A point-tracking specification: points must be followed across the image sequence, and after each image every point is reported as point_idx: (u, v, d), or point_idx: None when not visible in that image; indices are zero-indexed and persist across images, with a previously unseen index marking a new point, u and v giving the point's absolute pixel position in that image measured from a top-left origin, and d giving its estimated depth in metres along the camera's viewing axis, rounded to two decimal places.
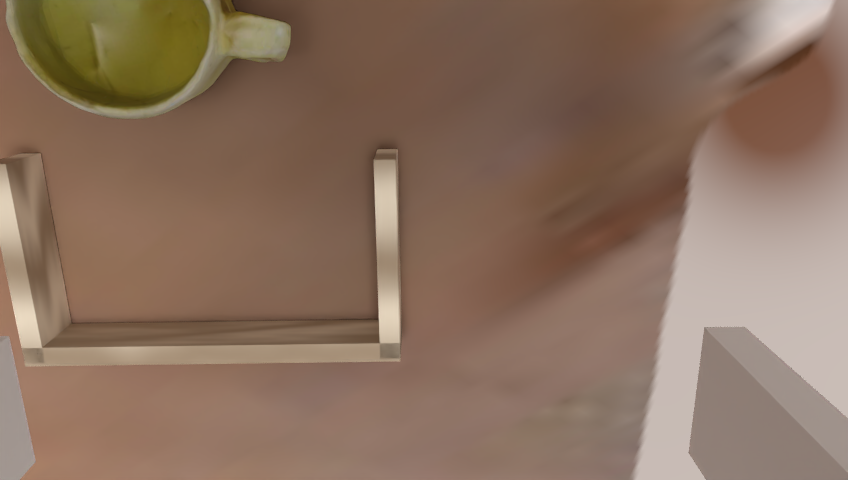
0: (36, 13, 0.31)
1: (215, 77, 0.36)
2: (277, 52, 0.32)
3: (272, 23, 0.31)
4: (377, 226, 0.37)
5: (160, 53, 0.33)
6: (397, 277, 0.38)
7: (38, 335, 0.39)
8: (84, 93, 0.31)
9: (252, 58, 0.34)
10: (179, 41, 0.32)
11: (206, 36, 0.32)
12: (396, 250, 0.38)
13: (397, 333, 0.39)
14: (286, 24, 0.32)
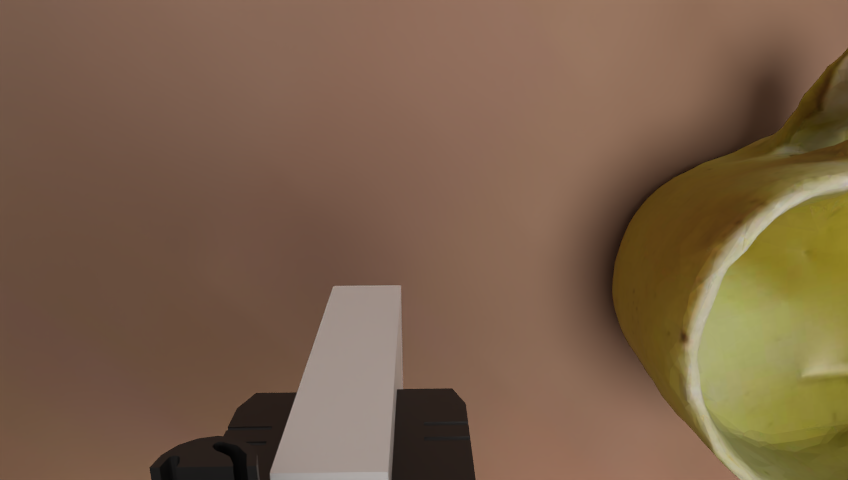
0: (791, 455, 0.19)
1: None
2: None
3: None
4: None
5: None
6: None
7: None
8: None
9: None
10: None
11: None
12: None
13: None
14: None
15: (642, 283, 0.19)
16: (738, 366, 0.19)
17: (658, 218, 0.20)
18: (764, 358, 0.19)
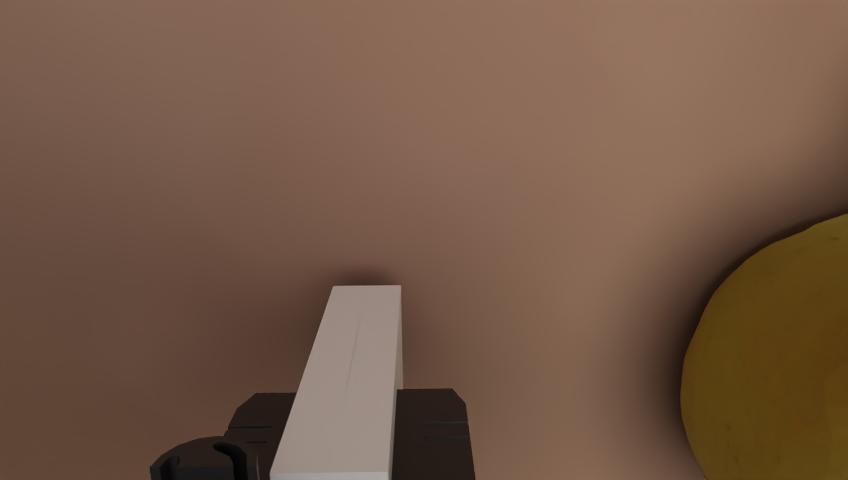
0: None
1: None
2: None
3: None
4: None
5: None
6: None
7: None
8: None
9: None
10: None
11: None
12: None
13: None
14: None
15: (746, 423, 0.13)
16: None
17: (764, 316, 0.14)
18: None
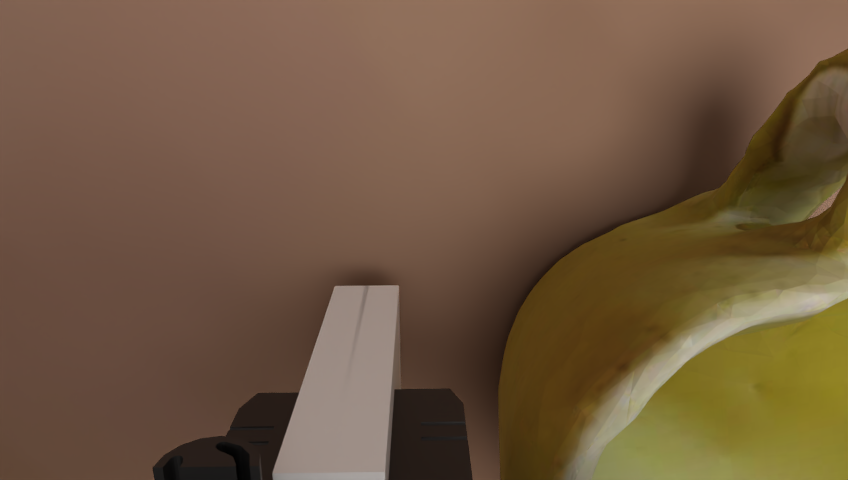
0: None
1: None
2: None
3: None
4: None
5: None
6: None
7: None
8: None
9: None
10: (835, 369, 0.11)
11: (846, 301, 0.11)
12: None
13: None
14: None
15: (505, 426, 0.12)
16: None
17: (541, 317, 0.14)
18: None
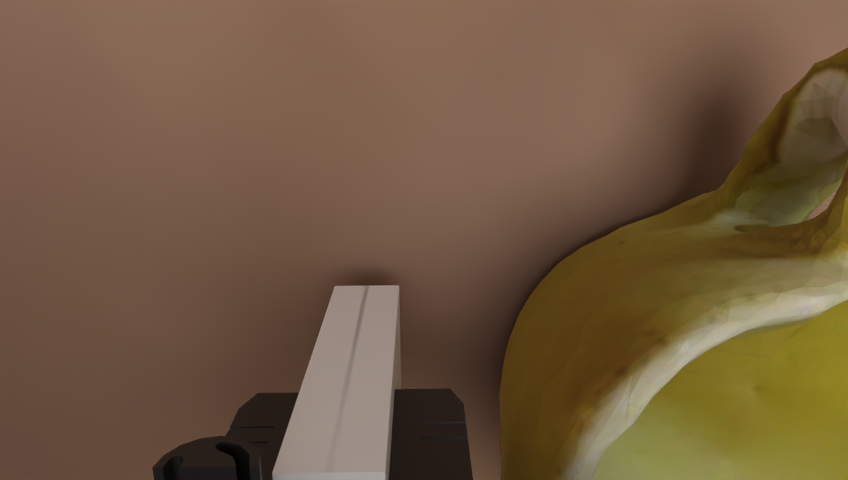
0: None
1: None
2: None
3: None
4: None
5: None
6: None
7: None
8: None
9: None
10: (835, 371, 0.11)
11: (845, 302, 0.11)
12: None
13: None
14: None
15: (505, 430, 0.12)
16: None
17: (540, 321, 0.14)
18: None
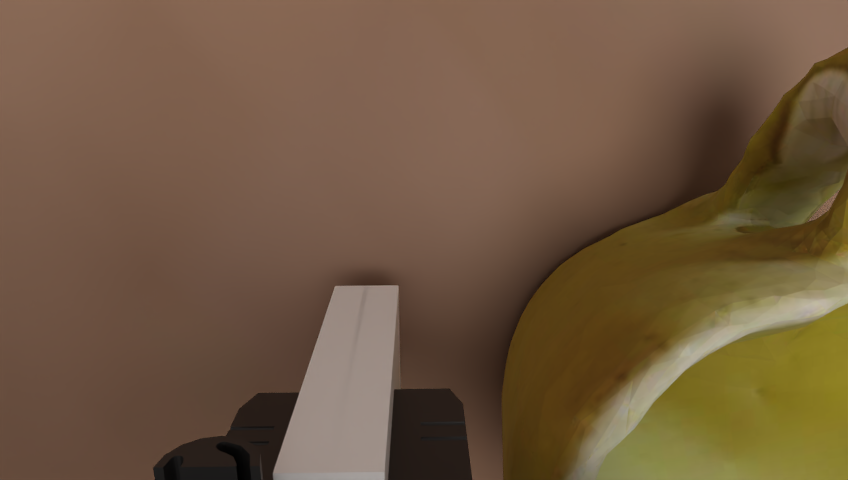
0: None
1: None
2: None
3: None
4: None
5: None
6: None
7: None
8: None
9: None
10: (839, 373, 0.11)
11: None
12: None
13: None
14: None
15: (507, 434, 0.12)
16: None
17: (541, 324, 0.13)
18: None
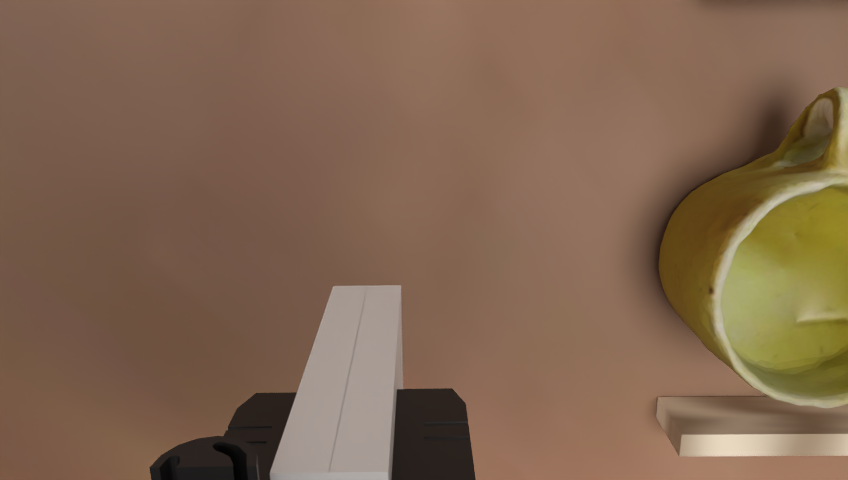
0: (790, 376, 0.28)
1: None
2: None
3: None
4: None
5: (838, 249, 0.27)
6: None
7: None
8: None
9: None
10: (829, 225, 0.27)
11: (833, 193, 0.26)
12: None
13: None
14: (840, 91, 0.25)
15: (681, 258, 0.28)
16: (750, 315, 0.28)
17: (692, 213, 0.29)
18: (769, 309, 0.28)
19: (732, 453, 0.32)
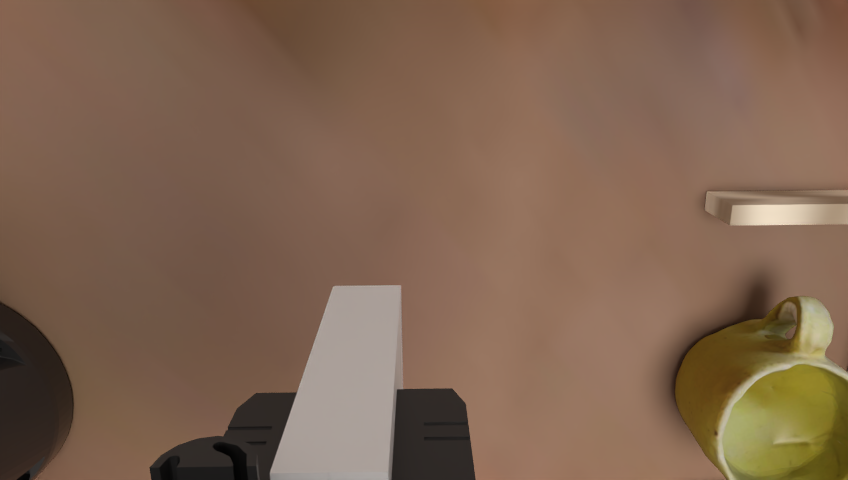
0: None
1: None
2: (825, 310, 0.37)
3: (806, 315, 0.36)
4: (795, 223, 0.38)
5: (801, 396, 0.39)
6: None
7: None
8: (844, 459, 0.38)
9: None
10: (795, 382, 0.39)
11: None
12: (823, 205, 0.38)
13: None
14: (801, 301, 0.37)
15: (694, 401, 0.40)
16: (741, 439, 0.40)
17: (700, 365, 0.41)
18: (754, 435, 0.40)
19: None
